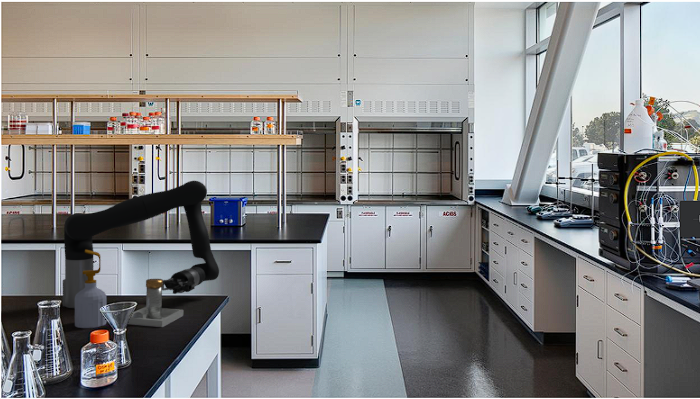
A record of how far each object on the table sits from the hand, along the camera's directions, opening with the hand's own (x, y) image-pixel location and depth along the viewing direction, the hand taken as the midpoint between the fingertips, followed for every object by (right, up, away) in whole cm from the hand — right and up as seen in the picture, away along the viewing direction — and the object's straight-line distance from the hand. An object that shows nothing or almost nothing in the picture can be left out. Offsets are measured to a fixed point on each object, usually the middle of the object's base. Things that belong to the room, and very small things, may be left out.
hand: (162, 289), depth 193 cm
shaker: (-1, -9, -5) cm, 10 cm away
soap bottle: (-19, -10, -12) cm, 24 cm away
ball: (-5, -9, -8) cm, 13 cm away
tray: (-1, -10, -5) cm, 11 cm away
